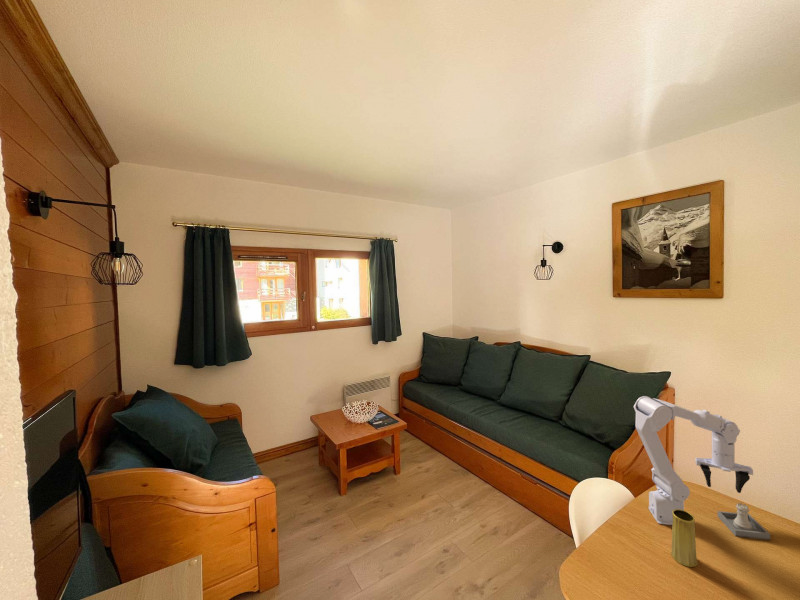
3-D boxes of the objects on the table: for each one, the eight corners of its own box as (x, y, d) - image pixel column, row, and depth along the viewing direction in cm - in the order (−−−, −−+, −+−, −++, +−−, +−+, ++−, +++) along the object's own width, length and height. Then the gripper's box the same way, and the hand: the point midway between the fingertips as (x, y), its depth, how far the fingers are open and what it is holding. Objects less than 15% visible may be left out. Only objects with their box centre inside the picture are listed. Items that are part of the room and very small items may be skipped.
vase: (691, 552, 103) (690, 509, 102) (701, 569, 97) (701, 524, 96) (667, 548, 105) (666, 506, 104) (676, 565, 99) (675, 520, 98)
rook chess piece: (756, 531, 108) (756, 508, 108) (744, 534, 108) (744, 511, 107) (740, 521, 113) (740, 499, 112) (729, 524, 112) (729, 502, 112)
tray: (735, 536, 108) (735, 530, 108) (717, 516, 116) (717, 510, 116) (770, 540, 105) (770, 534, 105) (749, 519, 114) (749, 514, 114)
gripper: (698, 452, 116) (699, 489, 117) (756, 462, 108) (756, 501, 109) (693, 443, 122) (694, 478, 123) (748, 451, 114) (748, 488, 115)
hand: (723, 488), depth 116 cm, fingers open, 7 cm apart
